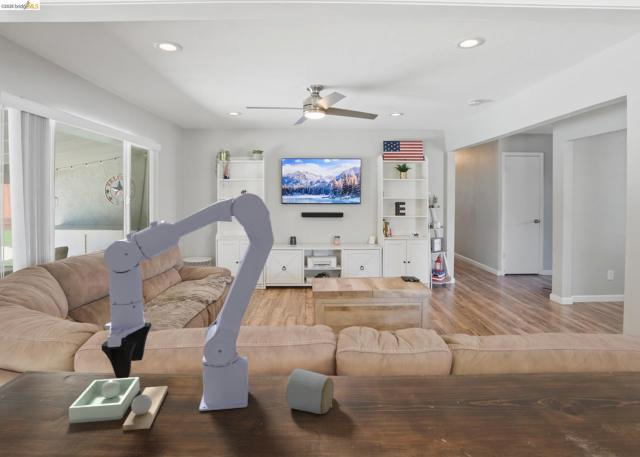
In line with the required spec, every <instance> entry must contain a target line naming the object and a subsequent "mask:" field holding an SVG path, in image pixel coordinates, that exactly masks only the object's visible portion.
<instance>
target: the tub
mask: <svg viewBox="0 0 640 457" xmlns="http://www.w3.org/2000/svg"><path fill="white" fill-rule="evenodd" d="M109 380H115V381H117V382H118V383H119V384H120V391H119V393H118V394H117V395H116V396H115V397H113V398H109V399H108V398H104V397H103V396H102V395H101V387H102V385H103V384H104V383H105V382H107V381H109ZM140 386H141V384H140V376H135V377H128V378H120V379H117V378H107V379H102V378H101V379H94V380H93V381H92V382H91V383H90V384H89V386H87V388H85V389H84V391H83V392H82V393H81V394H80V395H79V397H77V399H76V400H74V401H73V403H72V404H71V405H70V406H69V407H68V419H69V421H68V422H69V424H78V423H79V424H80V423H89V422H90V423H91V422H102V421H112V420H113V421H114V420H122V419H123V417H124V416H125V414H126V413H127V411H128V409H129V408H130V407H131V404H132V402H133V400H134V399H135V398H136V397H137V396H138V394H139V392H140V388H141V387H140Z"/></svg>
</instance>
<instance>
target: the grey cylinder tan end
mask: <svg viewBox="0 0 640 457" xmlns="http://www.w3.org/2000/svg"><path fill="white" fill-rule="evenodd" d="M334 383H335V382H334V381H333V379H332V378H331V377H330V376H328V375H326V374H323V373H322V374H321V373H318V372H314V371H311V370H306V369H302V368H299V367H298V368H295V369H294V370H293V371H292V373H290V376H289V378H288V381H287V384H286V390H285V403H286V406H287V407H288V408H289V409H294V410H296V411H297V410H299V411H303V412H309V413H313V414H316V415H317V414H318V415H319V414H321V415H323V414H326V413H327V412H328V411H329V410H330V408H331V406H332V402H333V398H334V392H335V388H334V386H335V384H334Z"/></svg>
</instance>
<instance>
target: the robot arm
mask: <svg viewBox="0 0 640 457" xmlns="http://www.w3.org/2000/svg"><path fill="white" fill-rule="evenodd" d="M232 217H234V219H236V221H237V222H238V223H239V224H240V226H242V227H243V231H244V232H245V234H246V237H247V238H248V240H249V242H248V245H247V247H246V250H245V252H244V255H243V257H242V259H241V262H240V263H239V266H238V269H237V271H236V274H235V276H234V278H233V280H232V283H231V285H230V289H229V290H228V293H227V295H226V297H225V300H224V302H223V304H222V306H221V307H222V308H221V310H220V311H219V312H218V314H217V317H216V318H215V320H214V321H213V322H212V323H211V324H210V325H209V326H208V328H207V329H206V331H205V336H204V338H205V341H204V346H203V357H202V388H203V393H202V397H201V400H200V404H199V407H198V410H199V411H200V412H203V411H204V412H205V411H206V412H207V411H214V410H215V411H216V410H229V409H237V408H238V409H239V408H247V407H248V403H249V402H248V401H249V400H248V399H249V393H250V390H251V389H250V388H251V387H250V382H249V360H248V359H249V358H248V357H247V356H241V355H239V354H238V352H237V339H238V337H239V335H240V330H241V326H242V321H243V319H244V316H245V313H246V311H247V309H248V306H249V304H250V301H251V299H252V296H253V294H254V291H255V289H256V287H257V285H258V282H259V280H260V277H261V275H262V272H263V270H264V267H265V265H266V262H267V260H268V258H269V256H270V253H271V250H272V249H273V246H274V242H275V239H274V238H275V236H274V232H273V228H272V222H271V216H270V211H269V209H268V207H267V206H266V204H265V202H264V201H263V199H262V197H260V196H258V195H257V194H254V193H250V192H249V193H242V194H239V195H238V196H236V197H230V198H226V199H223V200H219V201H216V202H214V203H212V204H210V205H207V206H206V207H204V208H202V209H199V210H198V211H196V212H194V213H192V214H190V215H188V216H186V217H185V216H184V218H181V219H179V220H177V221H176V222H169V221H167V220H161V221H158V220H154V221H152V222H150V223H149V226H148V227H146V228H143V229H141V230H140V231H137V232H135V233H133V232H130V233H127V234H126V235H125V237H126V238H123V239H120V240H116V241H114V242H113V243H111V244H109V245H108V247H106V249H105V251H104V252H103V253H104V254H103V262H104V264H105V265H106V267H107V268H108V290H109V291H108V292H109V308H110V310H109V311H110V322H107V323H106V324H105V325H104V329H105V330H109V333H108V336H107V337H106V338H107V341H104V342H103V343H102V344H101V351H102V353H104V354H105V355H106V357H107V358H108V360H109V362H110V364H111V368H112V370H113V372H114V375H115V379H120V378H130V374H131V370H132V369H131V368H132V362H136V361H142V360H143V359H144V358H143V357H144V354H145V346H146V342H147V339H148V335H149V332H150V330H151V328H152V322H146V313H145V311H144V299H143V298H144V297H143V296H144V295H143V294H144V293H143V277H142V274H141V273H142V272H141V271H142V270H141V262H142V261H149V260H152V259H153V258H155V257H157V256H160V255H162V254H163V253H166V252H167V251H170V250H172V249H174V248H177V246H178V245H179V243H180V242H179V241H180V240H181V237H184V236H186V235H188V234H191V233H193V232H195V231H198V230H199V229H202V228H205V227H207V226H208V225H212V224H213V223H217V222H224V223H225V222H227V223H233V218H232Z"/></svg>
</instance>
